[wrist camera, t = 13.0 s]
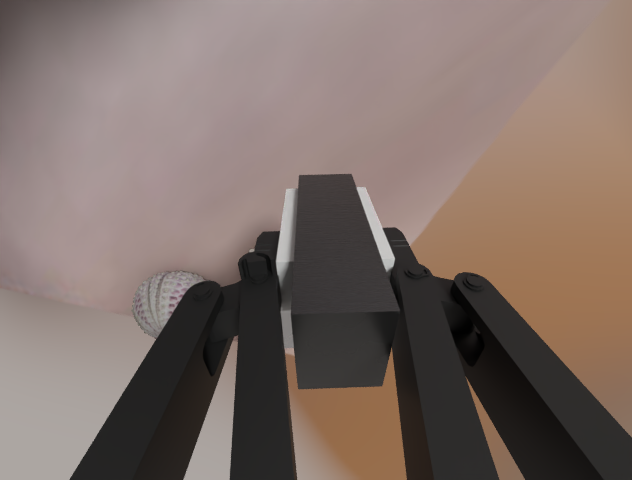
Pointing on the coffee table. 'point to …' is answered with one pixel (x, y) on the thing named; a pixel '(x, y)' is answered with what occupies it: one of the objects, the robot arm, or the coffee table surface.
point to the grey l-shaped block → (338, 290)
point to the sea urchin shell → (160, 299)
